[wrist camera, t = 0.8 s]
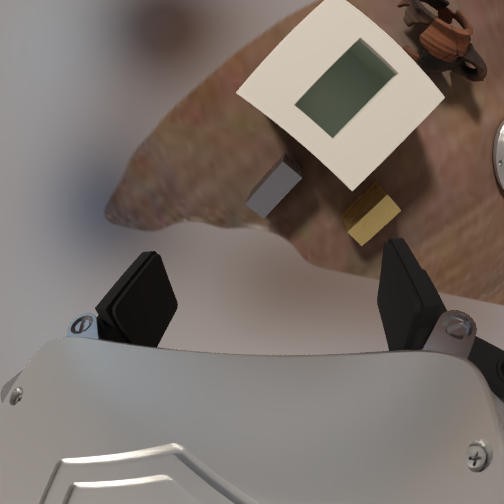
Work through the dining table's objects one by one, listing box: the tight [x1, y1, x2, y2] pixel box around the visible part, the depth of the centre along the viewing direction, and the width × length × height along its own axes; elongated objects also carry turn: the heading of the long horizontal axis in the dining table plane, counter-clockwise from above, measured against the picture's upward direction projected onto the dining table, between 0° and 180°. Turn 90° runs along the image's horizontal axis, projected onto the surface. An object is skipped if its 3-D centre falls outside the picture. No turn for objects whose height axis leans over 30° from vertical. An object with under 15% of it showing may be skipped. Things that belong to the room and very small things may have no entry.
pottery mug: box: [397, 0, 487, 81], centre depth 17 cm, size 12×10×8 cm
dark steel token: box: [245, 153, 302, 219], centre depth 29 cm, size 2×6×5 cm, turn 141°
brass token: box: [341, 181, 401, 246], centre depth 29 cm, size 2×6×5 cm, turn 141°
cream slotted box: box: [236, 0, 445, 191], centre depth 21 cm, size 12×12×10 cm
